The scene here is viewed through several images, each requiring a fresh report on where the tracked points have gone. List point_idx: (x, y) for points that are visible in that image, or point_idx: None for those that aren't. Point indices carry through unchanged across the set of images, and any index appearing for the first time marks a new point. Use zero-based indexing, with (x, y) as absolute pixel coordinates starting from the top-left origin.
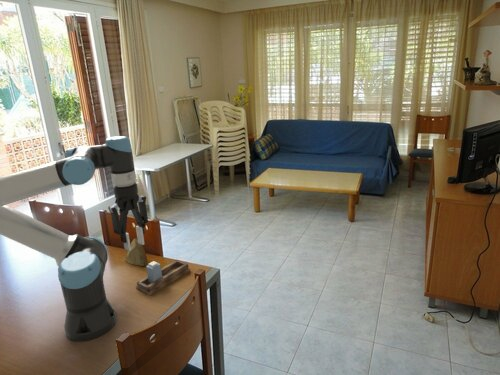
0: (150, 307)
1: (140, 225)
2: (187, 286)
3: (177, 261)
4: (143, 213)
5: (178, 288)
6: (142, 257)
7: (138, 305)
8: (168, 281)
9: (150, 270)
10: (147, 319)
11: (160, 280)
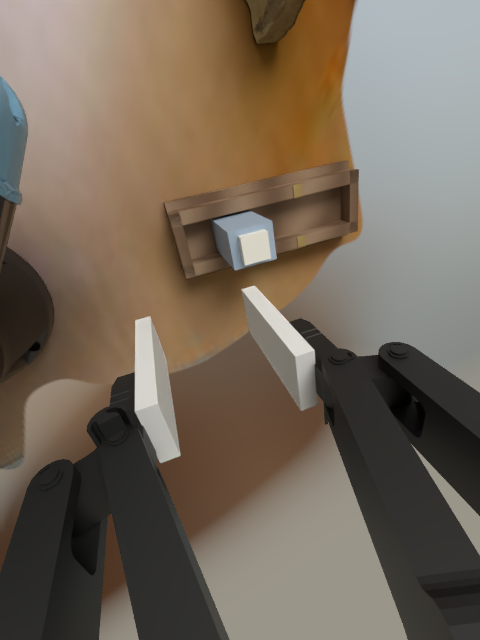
0: (162, 331)
1: (324, 401)
2: (286, 303)
3: (350, 184)
4: (457, 481)
5: None
6: (279, 12)
7: (135, 302)
8: None
9: (229, 256)
10: None
11: None
